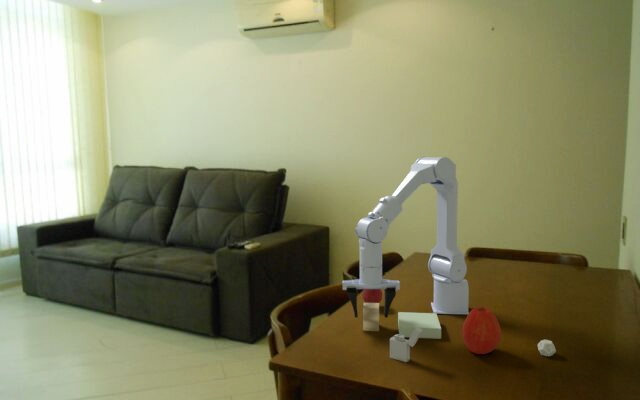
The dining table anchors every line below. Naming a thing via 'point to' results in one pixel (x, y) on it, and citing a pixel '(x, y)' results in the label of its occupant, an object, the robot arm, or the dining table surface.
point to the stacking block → (419, 324)
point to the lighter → (403, 345)
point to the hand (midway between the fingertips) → (370, 316)
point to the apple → (481, 330)
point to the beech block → (371, 317)
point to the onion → (372, 295)
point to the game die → (546, 347)
